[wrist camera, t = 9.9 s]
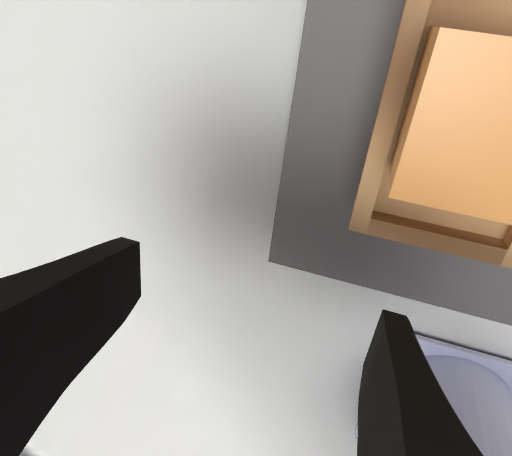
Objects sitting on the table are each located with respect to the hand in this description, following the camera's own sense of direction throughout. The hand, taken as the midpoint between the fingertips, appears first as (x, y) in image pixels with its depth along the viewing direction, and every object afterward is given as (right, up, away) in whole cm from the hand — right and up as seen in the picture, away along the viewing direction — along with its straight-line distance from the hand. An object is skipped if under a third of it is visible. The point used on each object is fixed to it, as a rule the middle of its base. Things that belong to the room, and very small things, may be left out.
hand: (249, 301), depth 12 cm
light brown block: (+6, +5, 0) cm, 8 cm away
